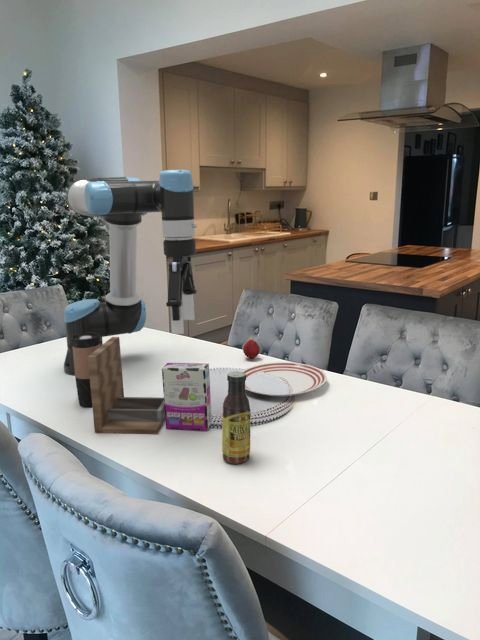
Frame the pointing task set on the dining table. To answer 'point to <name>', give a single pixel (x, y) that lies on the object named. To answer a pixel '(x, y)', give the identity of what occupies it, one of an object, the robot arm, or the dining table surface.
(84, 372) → the travel mug
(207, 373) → the candy bar box
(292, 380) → the dinner plate
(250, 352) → the red rounded piece
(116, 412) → the brown wooden l-shaped stand
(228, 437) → the sauce bottle
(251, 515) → the dining table surface
